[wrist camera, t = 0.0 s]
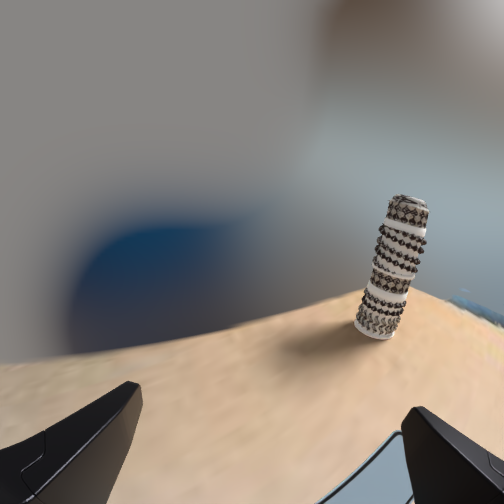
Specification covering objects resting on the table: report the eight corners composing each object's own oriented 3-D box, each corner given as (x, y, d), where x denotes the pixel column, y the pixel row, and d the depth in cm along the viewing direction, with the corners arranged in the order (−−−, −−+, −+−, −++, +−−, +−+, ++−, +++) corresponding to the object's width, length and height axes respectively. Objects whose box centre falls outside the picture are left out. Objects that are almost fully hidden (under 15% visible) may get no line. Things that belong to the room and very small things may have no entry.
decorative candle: (348, 331, 46) (386, 189, 40) (355, 312, 54) (386, 191, 48) (394, 346, 42) (439, 204, 36) (395, 325, 50) (431, 204, 44)
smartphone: (305, 509, 15) (396, 427, 24) (302, 512, 15) (393, 432, 24) (366, 554, 9) (443, 455, 18) (360, 557, 9) (438, 460, 18)
